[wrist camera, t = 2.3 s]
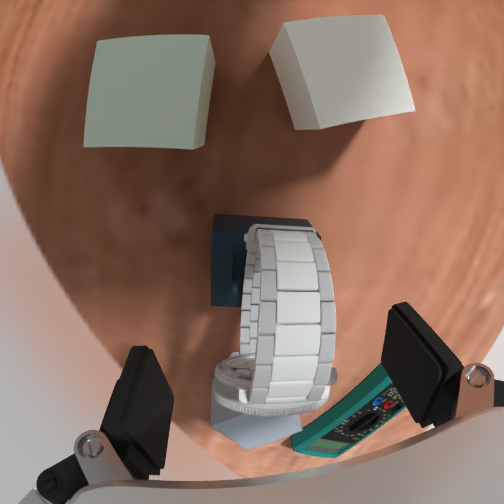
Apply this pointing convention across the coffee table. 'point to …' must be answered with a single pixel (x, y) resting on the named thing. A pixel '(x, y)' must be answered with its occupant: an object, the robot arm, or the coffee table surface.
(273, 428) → the slate cube
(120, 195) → the coffee table surface
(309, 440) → the digital multimeter
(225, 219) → the watch
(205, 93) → the sage cube
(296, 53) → the cream cube
